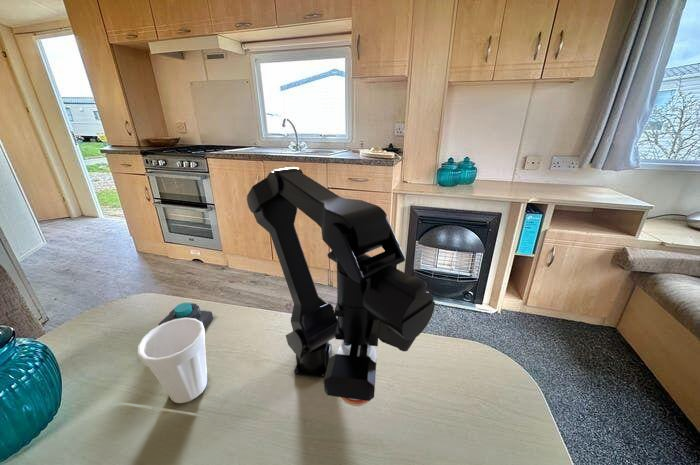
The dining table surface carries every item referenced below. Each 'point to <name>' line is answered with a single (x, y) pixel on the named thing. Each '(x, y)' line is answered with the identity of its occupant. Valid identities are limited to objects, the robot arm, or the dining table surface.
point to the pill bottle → (370, 352)
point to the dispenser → (192, 315)
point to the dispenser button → (183, 310)
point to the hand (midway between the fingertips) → (356, 374)
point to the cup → (177, 357)
